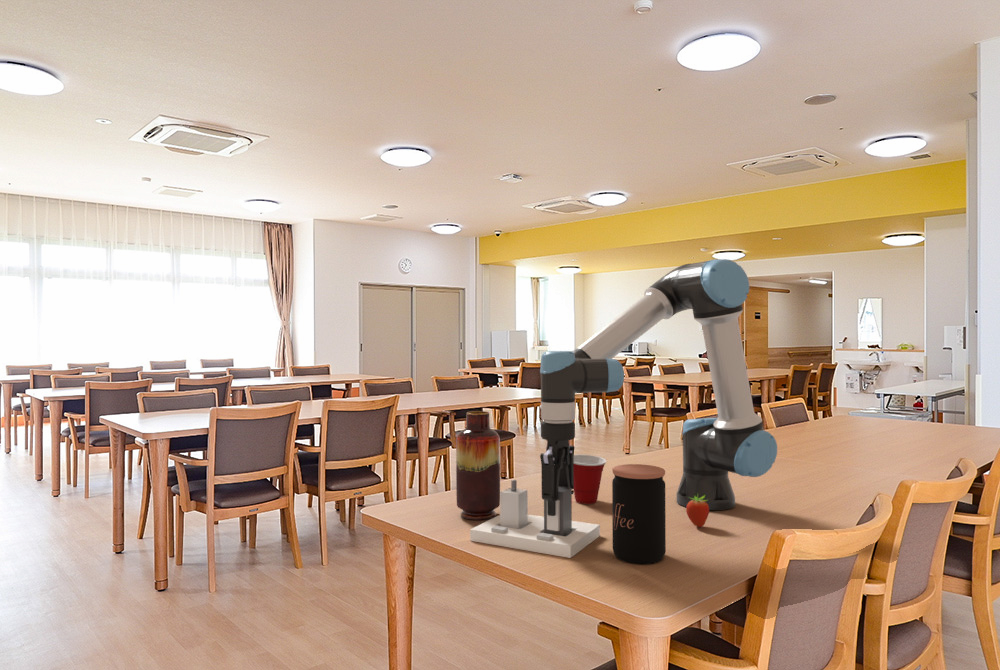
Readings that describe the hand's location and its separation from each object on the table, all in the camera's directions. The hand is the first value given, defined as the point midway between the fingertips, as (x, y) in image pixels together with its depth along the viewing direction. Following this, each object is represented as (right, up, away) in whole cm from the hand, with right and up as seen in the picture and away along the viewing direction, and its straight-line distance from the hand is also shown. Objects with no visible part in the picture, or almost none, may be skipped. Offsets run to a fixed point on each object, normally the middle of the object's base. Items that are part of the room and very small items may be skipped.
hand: (558, 526), depth 146 cm
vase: (-18, -4, +22) cm, 29 cm away
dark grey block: (0, -2, 0) cm, 2 cm away
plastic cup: (+11, -4, +35) cm, 37 cm away
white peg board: (-5, -3, +3) cm, 6 cm away
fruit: (+34, -4, +11) cm, 36 cm away
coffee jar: (+16, -4, -10) cm, 19 cm away
